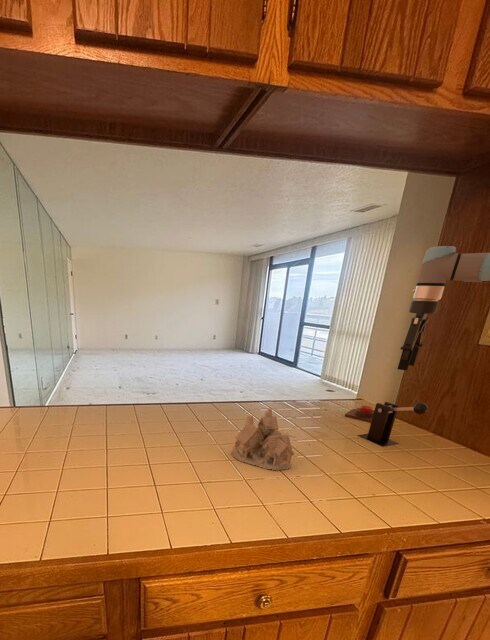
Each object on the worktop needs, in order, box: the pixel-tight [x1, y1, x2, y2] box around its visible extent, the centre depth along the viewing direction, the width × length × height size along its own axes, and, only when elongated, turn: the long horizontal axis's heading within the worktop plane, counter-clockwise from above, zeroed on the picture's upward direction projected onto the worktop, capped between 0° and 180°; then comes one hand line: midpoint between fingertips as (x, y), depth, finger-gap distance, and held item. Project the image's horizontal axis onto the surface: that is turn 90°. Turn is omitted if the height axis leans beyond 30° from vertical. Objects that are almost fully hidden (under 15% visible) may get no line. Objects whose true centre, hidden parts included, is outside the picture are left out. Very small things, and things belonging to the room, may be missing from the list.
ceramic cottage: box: [230, 407, 295, 471], centre depth 103 cm, size 16×16×15 cm
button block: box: [344, 407, 375, 424], centre depth 140 cm, size 12×10×4 cm
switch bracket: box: [357, 401, 400, 448], centre depth 117 cm, size 10×8×14 cm
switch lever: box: [389, 402, 429, 415], centre depth 110 cm, size 14×4×4 cm, turn 22°
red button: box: [360, 405, 373, 413], centre depth 139 cm, size 4×4×2 cm
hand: (405, 367), depth 121 cm, fingers open, 11 cm apart
